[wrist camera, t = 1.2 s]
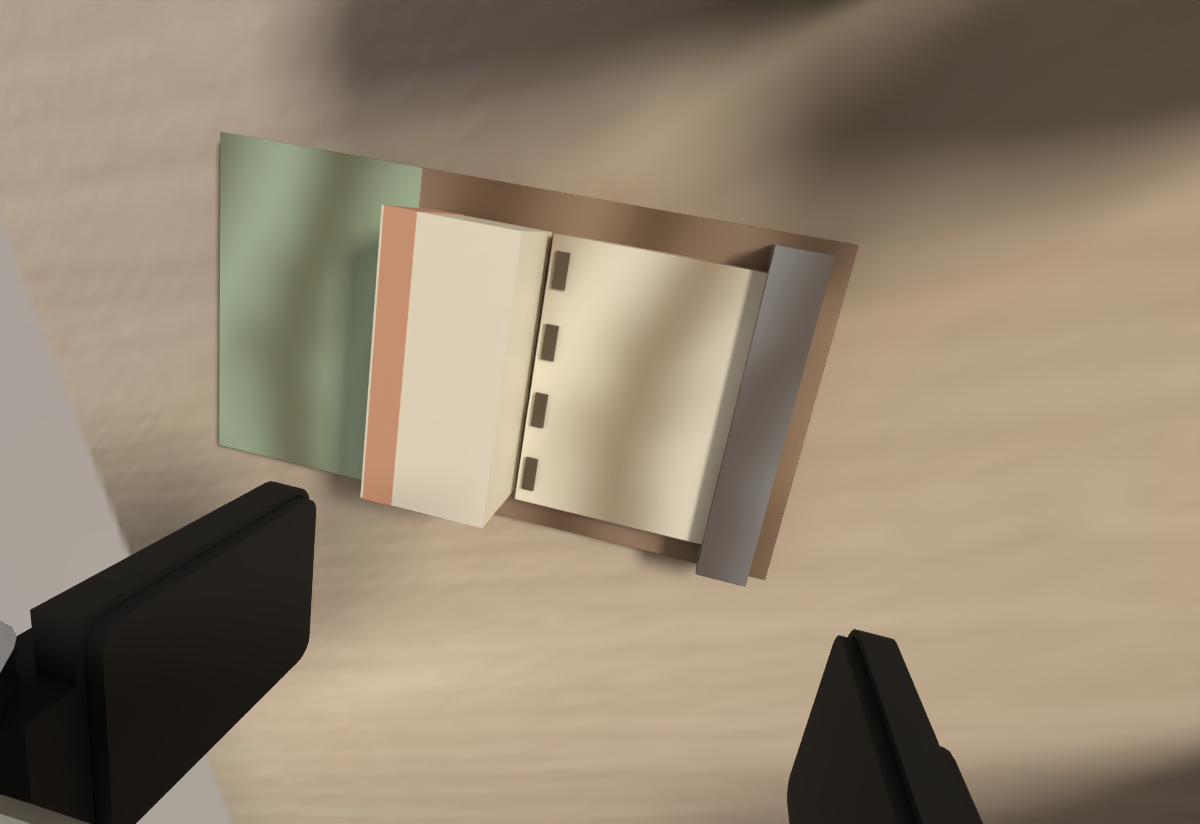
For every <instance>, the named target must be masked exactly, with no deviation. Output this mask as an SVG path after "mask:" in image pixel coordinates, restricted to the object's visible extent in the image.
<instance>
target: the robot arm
mask: <svg viewBox="0 0 1200 824" xmlns="http://www.w3.org/2000/svg"><path fill="white" fill-rule="evenodd" d="M315 523H316V505H315V503H314V502H313V501H312V500H309V496H308V493H307V492H306V491H305V490H304V489H301V488H297V487H293V486H289V485H285V484H281V483H277V482H272V481H270V482H267V483H264V484H263V485H261V486H259V487H257V488H255V489H253V490H251V491H250V492H248V493H246V494H244V495H242V496H240V497H238V498H237V499H235V500H233V501H231V502H229V503H227V504H225V505H224V506H222V507H220V508H218V509H216V510H214V511H212V512H211V513H209V514H207V515H205V516H203V517H201V518H200V519H198V520H196V521H194V522H192V523H190V524H188V525H187V526H185V527H183V528H181V529H179V530H177V531H175V532H174V533H172V534H170V535H168V536H166V537H164V538H162V539H161V540H159V541H157V542H155V543H153V544H151V545H149V546H148V547H146V548H144V549H142V550H140V551H138V552H137V553H135V554H133V555H131V556H129V557H127V558H125V559H124V560H122V561H120V562H118V563H116V564H114V565H113V566H111V567H109V568H107V569H105V570H103V571H101V572H99V573H98V574H96V575H94V576H92V577H90V578H88V579H86V580H85V581H83V582H81V583H79V584H77V585H76V586H74V587H72V588H70V589H68V590H66V591H65V592H63V593H61V594H59V595H57V596H55V597H53V598H51V599H49V600H48V601H46V602H44V603H42V604H40V605H38V606H37V607H35V608H33V609H31V610H30V613H31V623H32V628H31V629H29V630H27V631H25V632H24V633H22V634H20V635H18V636H16V634H15V632H14V630H13V629H12V627H10V626H8V625H7V624H4V623H3V622H1V621H0V824H136V823H137V822H138V821H139V820H140V819H141V818H142V817H143V816H144V815H145V814H146V813H147V812H148V811H149V810H150V809H151V808H152V807H153V806H154V805H155V804H156V803H157V802H158V801H159V800H160V799H161V798H162V797H163V796H164V795H165V794H166V793H167V792H168V791H169V790H170V789H171V788H172V787H173V786H174V785H175V784H176V783H177V782H178V781H179V780H180V779H181V778H182V777H183V776H184V775H185V774H186V773H187V772H188V771H189V770H190V769H191V768H192V767H193V766H194V765H195V764H196V763H197V762H198V761H199V760H200V759H201V758H202V757H203V756H204V755H205V754H206V753H207V752H208V751H209V750H210V749H211V748H212V747H213V746H214V745H215V744H216V743H217V742H218V741H219V740H220V739H221V738H222V737H223V736H224V735H225V734H226V733H227V732H228V731H229V730H230V729H231V728H232V727H233V726H234V725H235V724H236V723H237V722H238V721H239V720H240V719H241V718H242V717H243V716H244V715H245V714H246V713H247V712H248V711H249V710H250V709H251V708H252V707H253V706H254V705H255V704H256V703H257V702H258V701H259V700H260V699H261V698H262V697H263V696H264V695H265V694H266V693H267V692H268V691H269V690H270V689H271V688H272V687H273V686H274V685H275V684H276V683H277V682H278V681H279V680H280V679H281V678H282V677H283V676H284V675H285V674H286V673H287V672H288V671H289V670H290V669H291V668H292V667H293V666H294V665H295V664H296V663H297V662H298V661H299V660H300V659H301V657H302V656H303V654H304V652H305V650H306V648H307V645H308V642H309V635H310V616H311V598H312V579H313V560H314V542H315ZM787 805H788V814H789V823H790V824H983V823H982V821H981V818H980V816H979V814H978V811H977V809H976V807H975V805H974V802H973V800H972V798H971V795H970V793H969V791H968V788H967V786H966V784H965V782H964V779H963V777H962V775H961V772H960V770H959V768H958V766H957V763H956V761H955V759H954V758H953V756H952V754H951V753H950V751H948V750H947V749H945V748H944V747H941V746H940V745H939V743H938V741H937V738H936V736H935V734H934V731H933V729H932V726H931V724H930V722H929V719H928V717H927V714H926V712H925V710H924V707H923V705H922V702H921V700H920V698H919V695H918V693H917V691H916V688H915V686H914V683H913V681H912V679H911V676H910V674H909V671H908V669H907V667H906V664H905V662H904V660H903V657H902V655H901V652H900V650H899V648H898V645H897V643H896V642H895V640H894V639H891V638H887V637H883V636H880V635H876V634H872V633H868V632H864V631H860V630H856V629H854V630H852V631H851V633H850V634H849V636H848V637H844V636H840V635H839V636H837V637H836V639H835V641H834V643H833V646H832V649H831V652H830V655H829V658H828V661H827V664H826V667H825V670H824V673H823V676H822V679H821V682H820V686H819V689H818V692H817V695H816V698H815V701H814V704H813V707H812V710H811V713H810V716H809V719H808V722H807V725H806V728H805V731H804V734H803V737H802V740H801V743H800V747H799V750H798V753H797V756H796V759H795V762H794V765H793V768H792V771H791V774H790V778H789V783H788V791H787Z"/></svg>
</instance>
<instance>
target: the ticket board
mask: <svg viewBox="0 0 1200 824" xmlns="http://www.w3.org/2000/svg"><path fill="white" fill-rule="evenodd" d="M382 205H391V206H402V207H413V208H425V209H435V210H440V211H446V212H451V213H457V214H462V215H464V216H470V217H475V218H480V219H486V220H491V221H496V222H502V223H507V224H513V225H518V226H523V227H529V228H534V229H539V230H545V231H550V232H552V237H551V244H550V251H549V258H548V265H547V271H546V278H545V285H544V292H543V299H542V305H541V312H540V319H539V326H538V333H537V340H536V346H535V353H534V360H533V367H532V374H531V381H530V387H529V394H528V401H527V408H526V415H525V422H524V428H523V435H522V442H521V449H520V456H519V462H518V469H517V476H516V483H515V489H514V491H513V492H512V493H511V494H510V495H509V497H508V498H507V499H506V500H505V501H504V503H503V504H502V505H501V506H500V507H499V508H498V510H497V511H496V512H495V513H496V514H501V515H505V516H509V517H513V518H517V519H521V520H525V521H529V522H533V523H537V524H541V525H545V526H549V527H553V528H557V529H561V530H565V531H569V532H573V533H577V534H581V535H585V536H589V537H593V538H597V539H601V540H605V541H609V542H613V543H617V544H621V545H625V546H629V547H633V548H638V549H642V550H646V551H650V552H654V553H658V554H662V555H666V556H670V557H674V558H678V559H682V560H686V561H690V562H694V563H697V566H696V575H700V576H704V577H708V578H712V579H716V580H720V581H724V582H728V583H732V584H736V585H740V586H744V587H745V586H746V583H747V579H748V576H750V577H754V578H758V579H762V580H765V578H766V575H767V571H768V567H769V564H770V560H771V557H772V553H773V550H774V546H775V542H776V539H777V535H778V532H779V528H780V524H781V521H782V517H783V514H784V510H785V507H786V503H787V499H788V496H789V492H790V489H791V485H792V481H793V478H794V474H795V471H796V467H797V464H798V460H799V456H800V453H801V449H802V446H803V442H804V438H805V435H806V431H807V428H808V424H809V421H810V417H811V413H812V410H813V406H814V403H815V399H816V396H817V392H818V388H819V385H820V381H821V378H822V374H823V370H824V367H825V363H826V360H827V356H828V353H829V349H830V345H831V342H832V338H833V335H834V331H835V327H836V324H837V320H838V317H839V313H840V310H841V306H842V302H843V299H844V295H845V292H846V288H847V284H848V281H849V277H850V274H851V270H852V267H853V263H854V259H855V256H856V252H857V249H858V245H853V244H848V243H842V242H836V241H831V240H825V239H820V238H814V237H808V236H803V235H797V234H792V233H786V232H780V231H775V230H769V229H763V228H758V227H752V226H747V225H741V224H735V223H730V222H724V221H719V220H713V219H707V218H702V217H696V216H690V215H685V214H679V213H674V212H668V211H662V210H657V209H651V208H646V207H640V206H634V205H629V204H623V203H617V202H612V201H606V200H601V199H595V198H589V197H584V196H578V195H573V194H567V193H561V192H556V191H550V190H544V189H539V188H533V187H528V186H522V185H516V184H511V183H505V182H500V181H494V180H488V179H483V178H477V177H471V176H466V175H460V174H455V173H449V172H443V171H438V170H432V169H427V168H421V167H415V166H410V165H404V164H398V163H393V162H387V161H382V160H376V159H370V158H365V157H359V156H354V155H348V154H342V153H337V152H331V151H325V150H320V149H314V148H309V147H303V146H297V145H292V144H286V143H281V142H275V141H269V140H264V139H258V138H252V137H247V136H241V135H236V134H230V133H224V132H220V356H219V445H222V446H227V447H231V448H235V449H239V450H243V451H247V452H251V453H255V454H259V455H263V456H267V457H271V458H275V459H279V460H283V461H287V462H291V463H295V464H299V465H303V466H307V467H311V468H315V469H319V470H323V471H327V472H331V473H335V474H339V475H343V476H347V477H351V478H355V479H359V480H362V469H363V455H364V441H365V428H366V414H367V400H368V386H369V372H370V359H371V345H372V331H373V317H374V304H375V290H376V276H377V262H378V249H379V235H380V221H381V207H382Z"/></svg>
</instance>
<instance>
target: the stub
mask: <svg viewBox="0 0 1200 824" xmlns="http://www.w3.org/2000/svg"><path fill="white" fill-rule="evenodd" d="M551 237H552V232H550V231H545V230H539V229H534V228H529V227H523V226H518V225H513V224H507V223H502V222H496V221H491V220H486V219H480V218H475V217H470V216H464V215H462V214H457V213H451V212H446V211H440V210H435V209H425V208H413V207H402V206H391V205H382V207H381V221H380V235H379V249H378V262H377V276H376V290H375V304H374V317H373V331H372V345H371V359H370V372H369V386H368V400H367V414H366V428H365V441H364V455H363V469H362V483H361V496H360V498H363V499H365V500H369V501H373V502H377V503H381V504H385V505H389V506H396V507H400V508H404V509H408V510H412V511H416V512H420V513H424V514H428V515H432V516H436V517H440V518H444V519H448V520H452V521H455V522H459V523H463V524H467V525H471V526H475V527H479V528H483V526H484V525H485V524H486V523H487V522H488V520H489V519H490V518H491V517H492V516H493V514H494V513H495V512H496V511H497V510H498V508H499V507H500V506H501V505H502V504H503V503H504V501H505V500H506V499H507V498H508V497H509V495H510V494H511V493H512V492H513V491H514V489H515V483H516V476H517V469H518V462H519V456H520V449H521V442H522V435H523V428H524V422H525V415H526V408H527V401H528V394H529V387H530V381H531V374H532V367H533V360H534V353H535V346H536V340H537V333H538V326H539V319H540V312H541V305H542V299H543V292H544V285H545V278H546V271H547V265H548V258H549V251H550V244H551Z"/></svg>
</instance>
